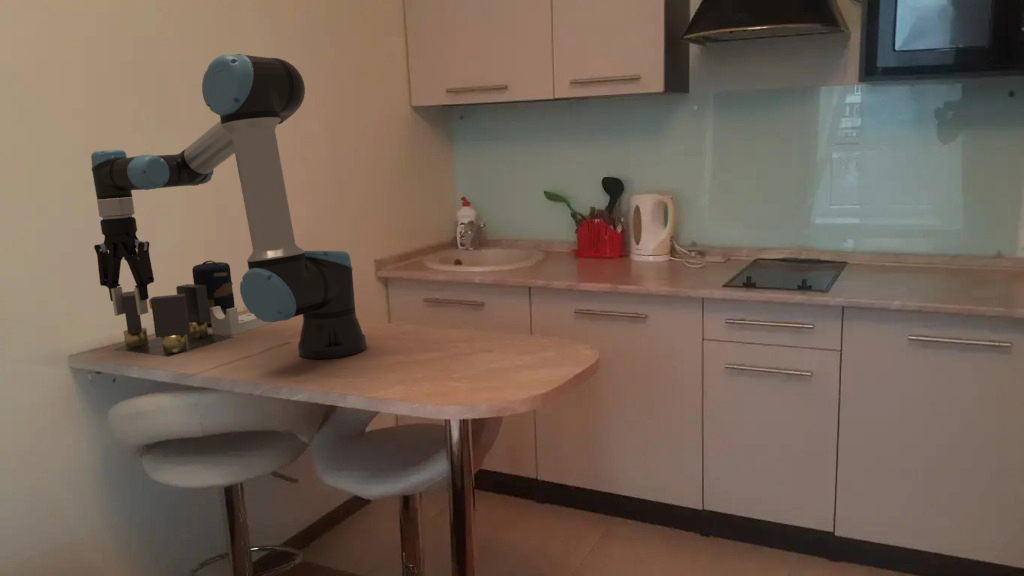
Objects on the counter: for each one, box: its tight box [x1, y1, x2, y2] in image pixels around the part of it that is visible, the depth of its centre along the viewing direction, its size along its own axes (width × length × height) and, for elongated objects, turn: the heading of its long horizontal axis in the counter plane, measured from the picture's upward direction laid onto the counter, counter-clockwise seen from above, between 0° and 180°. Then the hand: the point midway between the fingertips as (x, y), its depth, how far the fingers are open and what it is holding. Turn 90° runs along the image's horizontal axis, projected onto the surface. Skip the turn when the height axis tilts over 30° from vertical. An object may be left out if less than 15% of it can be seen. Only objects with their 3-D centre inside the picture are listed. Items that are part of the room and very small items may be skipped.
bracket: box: [210, 306, 272, 336], centre depth 206 cm, size 13×7×8 cm, turn 150°
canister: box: [191, 260, 236, 328], centre depth 212 cm, size 10×10×18 cm
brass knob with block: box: [122, 290, 149, 348], centre depth 191 cm, size 7×5×13 cm
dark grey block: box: [148, 294, 190, 353], centre depth 184 cm, size 7×5×13 cm
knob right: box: [175, 283, 210, 338], centre depth 198 cm, size 7×5×13 cm
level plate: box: [114, 333, 235, 358], centre depth 193 cm, size 20×19×2 cm
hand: (131, 313), depth 189 cm, fingers closed on brass knob with block, 6 cm apart
